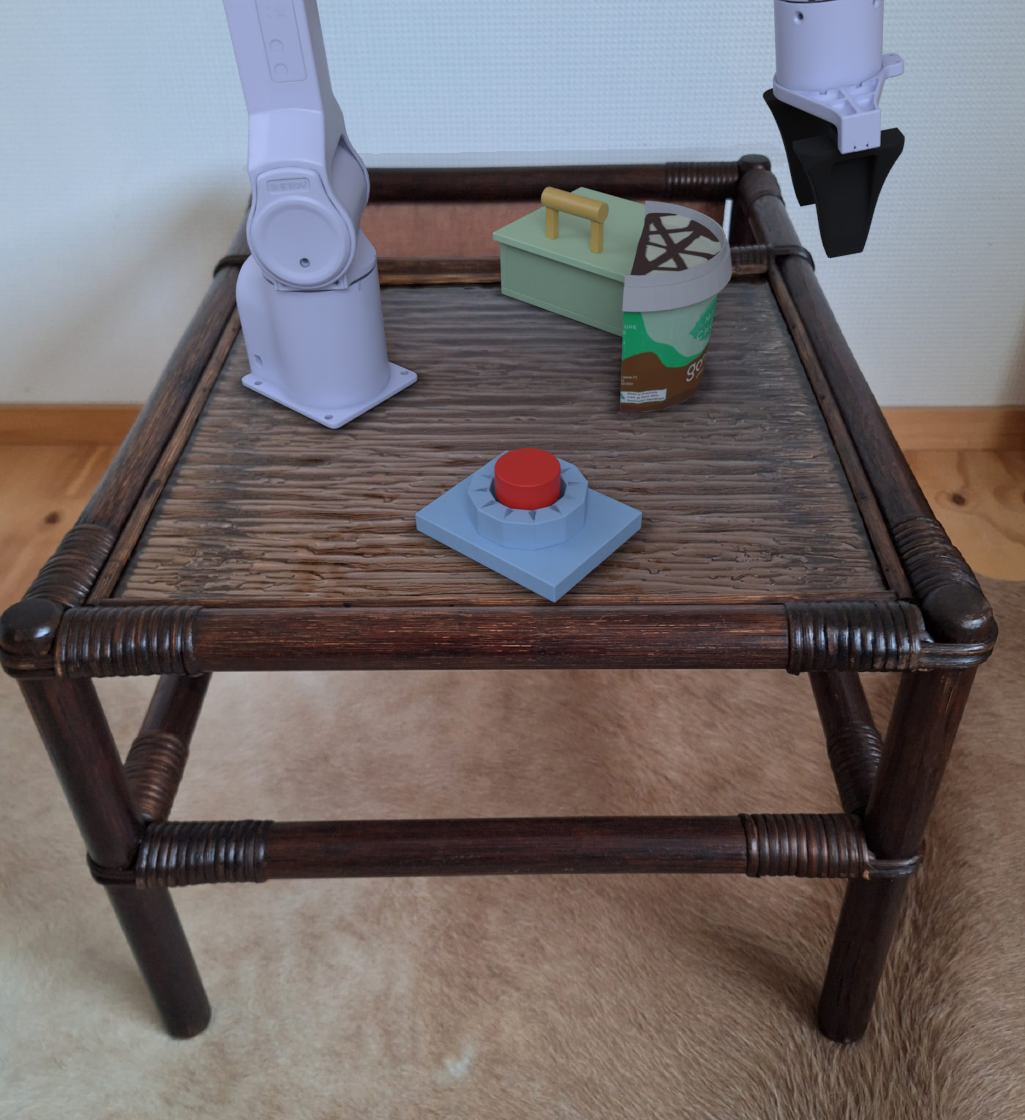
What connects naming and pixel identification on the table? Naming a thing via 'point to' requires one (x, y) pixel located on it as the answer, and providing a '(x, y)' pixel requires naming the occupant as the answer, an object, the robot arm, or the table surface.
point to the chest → (562, 289)
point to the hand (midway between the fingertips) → (829, 226)
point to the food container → (670, 306)
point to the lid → (581, 231)
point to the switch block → (531, 530)
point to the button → (527, 479)
